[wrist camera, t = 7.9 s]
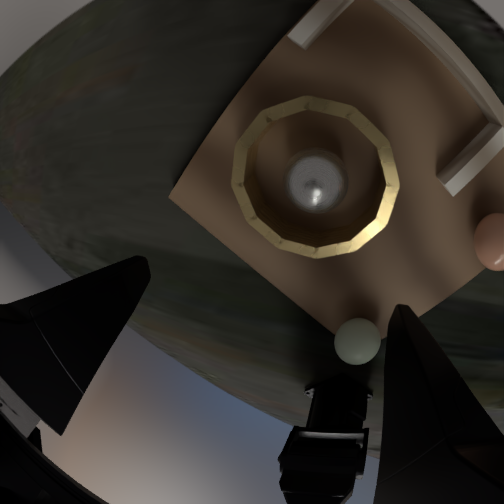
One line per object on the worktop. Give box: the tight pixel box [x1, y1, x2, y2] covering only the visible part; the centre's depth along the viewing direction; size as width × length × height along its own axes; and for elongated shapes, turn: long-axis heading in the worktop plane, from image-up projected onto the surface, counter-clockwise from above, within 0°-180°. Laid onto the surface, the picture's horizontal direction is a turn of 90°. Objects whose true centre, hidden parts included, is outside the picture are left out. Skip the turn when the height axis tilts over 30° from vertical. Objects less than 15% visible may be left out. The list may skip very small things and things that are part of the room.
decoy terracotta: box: [474, 213, 504, 271], centre depth 14 cm, size 4×4×4 cm
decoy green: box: [334, 318, 381, 365], centre depth 22 cm, size 4×4×4 cm
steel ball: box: [283, 148, 349, 214], centre depth 17 cm, size 4×4×4 cm
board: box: [169, 0, 504, 339], centre depth 17 cm, size 23×22×3 cm
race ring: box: [231, 95, 400, 259], centre depth 17 cm, size 10×10×2 cm
